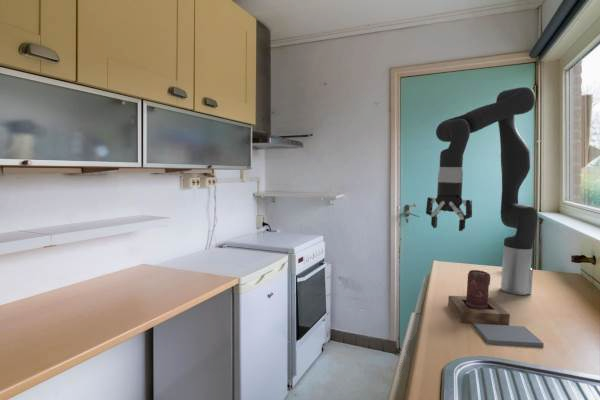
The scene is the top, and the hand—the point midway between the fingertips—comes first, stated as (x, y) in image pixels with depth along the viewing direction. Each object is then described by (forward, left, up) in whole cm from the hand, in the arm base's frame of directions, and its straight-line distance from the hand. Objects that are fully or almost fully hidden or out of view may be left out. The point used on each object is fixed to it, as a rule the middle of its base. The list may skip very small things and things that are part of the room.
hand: (447, 229), depth 121 cm
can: (-8, +8, -26) cm, 29 cm away
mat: (-11, +22, -26) cm, 36 cm away
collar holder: (-8, +8, -26) cm, 28 cm away
